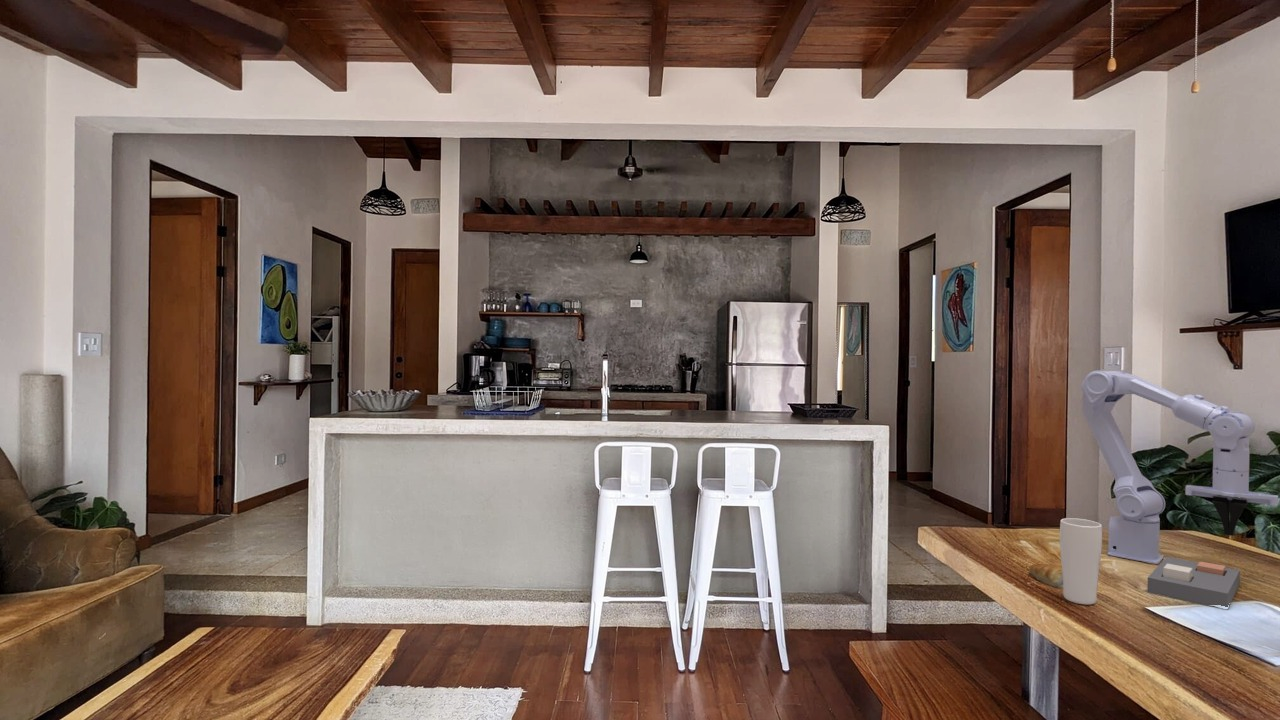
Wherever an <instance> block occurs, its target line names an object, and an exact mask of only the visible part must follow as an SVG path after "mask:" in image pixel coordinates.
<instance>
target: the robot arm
mask: <svg viewBox="0 0 1280 720" xmlns="http://www.w3.org/2000/svg"><path fill="white" fill-rule="evenodd" d="M1080 388H1081V390H1082V406H1081V407H1082V409H1081V410H1082V414H1083V417H1084V418H1085V420H1086V422H1087V424H1088V427H1089V429H1090V431H1091V433H1092V434H1093V436H1094V437H1093V438H1094V439H1095V441H1096V443H1097V446H1098V447H1099V449H1100V451H1101V453H1102V456H1103V457H1104V459H1105V461H1106V464H1107V466H1108V469H1109V471H1110V472H1111V475H1112V477H1113V479H1114V481H1115V483H1114V485H1113V489H1112V491H1113V494H1114V495H1115V506H1116V509H1117V512H1118V513H1119V514H1120V515H1111V516H1110V518H1109V522H1108V536H1107V537H1108V543H1107V546H1108V547H1107V548H1108V549H1107V555H1108V556H1112V557H1116V558H1122V559H1129V560H1131V561H1132V560H1133V561H1139V562H1143V563H1149V564H1154V565H1159V563H1161V562H1162V561H1163V560H1164V559H1165V558H1164V557H1165V556H1164V555H1163V554H1160V535H1161V534H1160V533H1161V532H1160V530H1161V529H1160V525H1161V524H1160V523H1161V521H1160V520H1161V519H1160V514H1162V513H1163V512H1164V510H1165V508H1166V500H1165V497H1164V496H1163V495H1162V494H1161V492H1159V491H1157V489H1156V488H1155V487H1154V485H1153V483H1152V482H1151V481H1150V480H1149V479H1148V478H1147V477H1145V476H1144V475H1143V474H1142V473H1141V471H1140V468H1139V467H1138V465H1137V462H1136V460H1135V459H1134V457H1133V454H1132V453H1131V452H1132V451H1130V449H1129V446H1128V443H1126V440H1125V438H1124V436H1123V434H1122V432H1121V430H1120V428H1119V426H1118V424H1117V422H1116V420H1115V418H1114V416H1113V414H1112V411H1113V409H1114V408H1115V406H1116V404H1117V402H1118V401H1119V400H1121V399H1122V398H1123V397H1125V395H1135V396H1137V397H1139V398H1143V399H1145V400H1148V401H1151V402H1152V403H1156V404H1158V405H1161V406H1162V407H1163V406H1164V407H1165V408H1168V409H1171V411H1172V413H1173V414H1174V417H1175V418H1177V419H1180V420H1181V421H1184V422H1185V423H1187V424H1191V425H1193V426H1194V427H1198V428H1200V429H1202V430H1204V431H1206V432H1209V434H1210V436H1212V437H1213V447H1212V450H1213V453H1212V486H1204V485H1203V486H1202V485H1193V484H1192V485H1190V484H1187V485H1185V492H1184V493H1185V495H1186V496H1197V497H1203V498H1212V504H1213V506H1214V508H1215V509H1216V512H1217V514H1218V516H1219V519H1220V521H1221V524H1222V526H1223V527H1222V528H1223V534H1224V535H1226V536H1232V537H1233V536H1235V532H1236V531H1235V530H1236V526H1237V524H1238V523H1239V519H1240V517H1241V515H1242V513H1243V511H1244V510H1245V508H1246V507H1247V505H1248V503H1251V504H1252V503H1253V504H1260V505H1269V506H1271V507H1278V505H1279V495H1276V494H1269V493H1262V492H1257V491H1256V492H1255V491H1250V490H1249V487H1250V486H1249V485H1250V484H1249V483H1250V481H1249V480H1250V436H1251V435H1253V434H1254V432H1255V428H1256V427H1255V423H1254V420H1253V419H1252V418H1251V417H1250V416H1249V415H1247V414H1246V413H1244V412H1242V411H1237V410H1236V411H1229V410H1230V407H1228V406H1225V405H1221V406H1220V405H1217V404H1215V403H1212V402H1210V401H1207V400H1205V396H1203V395H1201V394H1195V395H1193V394H1185V395H1182V396H1181V395H1178V394H1175V393H1174V392H1172V391H1169V390H1167V389H1165V388H1163V387H1161V386H1159V385H1157V384H1154V383H1152V382H1150V381H1148V380H1146V379H1144V378H1142V377H1139V376H1137V375H1135V374H1131V373H1127V372H1126V371H1122V370H1120V369H1119V370H1116V369H1115V370H1114V369H1113V370H1094V371H1091V372H1089V373H1088V374H1087V375H1086V376H1085V378H1084V379H1083V380H1082V383H1081V384H1080Z"/></svg>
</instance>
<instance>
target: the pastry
mask: <svg viewBox="0 0 1280 720" xmlns="http://www.w3.org/2000/svg"><path fill="white" fill-rule="evenodd" d="M1028 571H1029V573H1030V574H1031V576H1032V577H1034V578H1035V579H1036V580H1037V581H1039V582H1042V583H1044V584H1046V585H1048V586H1051V587H1052V588H1058V589H1059V588H1060V589H1063V575H1062V565H1060V564H1053V563H1032V564H1031V565H1029V568H1028Z"/></svg>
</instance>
